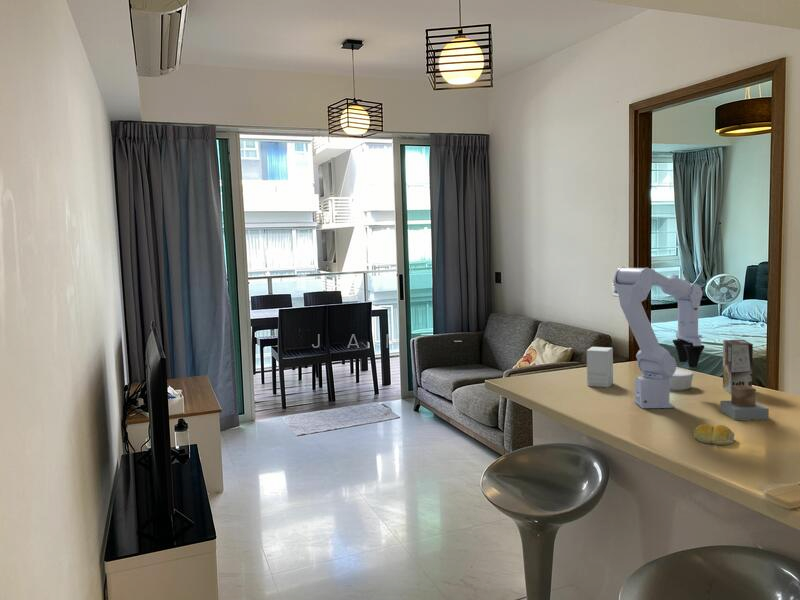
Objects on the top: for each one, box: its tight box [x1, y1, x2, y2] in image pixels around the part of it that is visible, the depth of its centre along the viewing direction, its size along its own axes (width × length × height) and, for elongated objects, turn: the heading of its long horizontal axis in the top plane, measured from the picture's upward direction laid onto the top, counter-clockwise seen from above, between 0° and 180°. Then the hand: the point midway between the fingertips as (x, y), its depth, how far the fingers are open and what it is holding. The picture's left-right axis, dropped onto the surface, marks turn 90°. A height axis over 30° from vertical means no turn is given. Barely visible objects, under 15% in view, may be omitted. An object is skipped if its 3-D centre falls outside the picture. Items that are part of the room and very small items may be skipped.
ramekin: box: [670, 368, 694, 391], centre depth 212 cm, size 11×11×5 cm
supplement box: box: [585, 346, 614, 388], centre depth 219 cm, size 7×7×13 cm
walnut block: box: [730, 385, 757, 407], centre depth 178 cm, size 4×4×5 cm
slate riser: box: [719, 400, 770, 421], centre depth 179 cm, size 9×9×3 cm
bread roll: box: [693, 423, 735, 446], centre depth 160 cm, size 8×9×4 cm
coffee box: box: [722, 339, 754, 395], centre depth 203 cm, size 9×6×16 cm
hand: (688, 364), depth 198 cm, fingers open, 7 cm apart
